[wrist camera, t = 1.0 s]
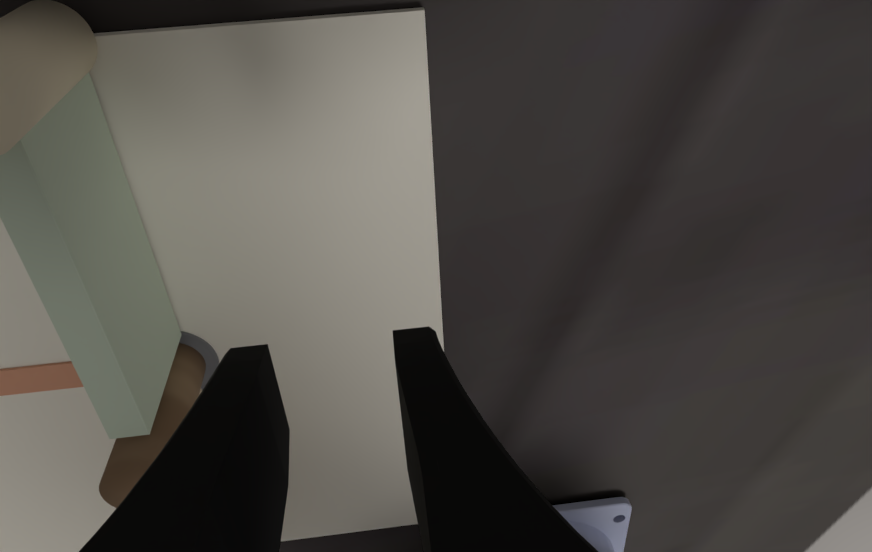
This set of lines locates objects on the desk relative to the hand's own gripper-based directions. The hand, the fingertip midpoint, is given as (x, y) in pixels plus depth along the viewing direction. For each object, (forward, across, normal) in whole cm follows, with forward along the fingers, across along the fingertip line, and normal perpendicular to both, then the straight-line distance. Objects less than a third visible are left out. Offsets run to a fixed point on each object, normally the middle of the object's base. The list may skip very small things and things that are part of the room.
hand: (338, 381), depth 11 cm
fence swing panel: (+8, +6, 0) cm, 10 cm away
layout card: (+8, +6, +6) cm, 12 cm away
